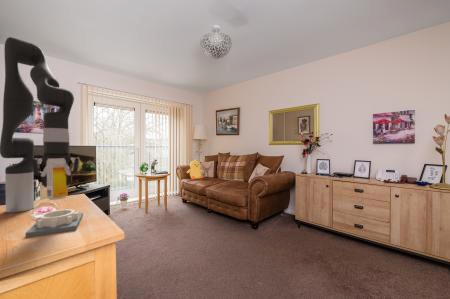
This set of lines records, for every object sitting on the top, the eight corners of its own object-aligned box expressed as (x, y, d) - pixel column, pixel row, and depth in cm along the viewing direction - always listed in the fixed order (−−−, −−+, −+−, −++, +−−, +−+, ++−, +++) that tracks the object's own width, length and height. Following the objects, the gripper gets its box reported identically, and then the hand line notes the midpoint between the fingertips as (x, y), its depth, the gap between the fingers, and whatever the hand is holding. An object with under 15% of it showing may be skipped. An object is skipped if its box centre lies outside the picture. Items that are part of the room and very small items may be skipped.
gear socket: (41, 221, 81) (41, 210, 81) (83, 215, 88) (82, 205, 87) (25, 237, 67) (25, 223, 67) (76, 229, 73) (76, 217, 73)
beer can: (71, 196, 80) (71, 157, 79) (57, 200, 74) (57, 158, 73) (57, 195, 80) (57, 157, 80) (42, 199, 74) (41, 158, 74)
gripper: (81, 141, 83) (82, 182, 84) (34, 140, 77) (35, 185, 77) (78, 141, 77) (79, 185, 77) (27, 140, 70) (27, 189, 70)
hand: (57, 185), depth 77 cm, fingers closed on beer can, 6 cm apart
